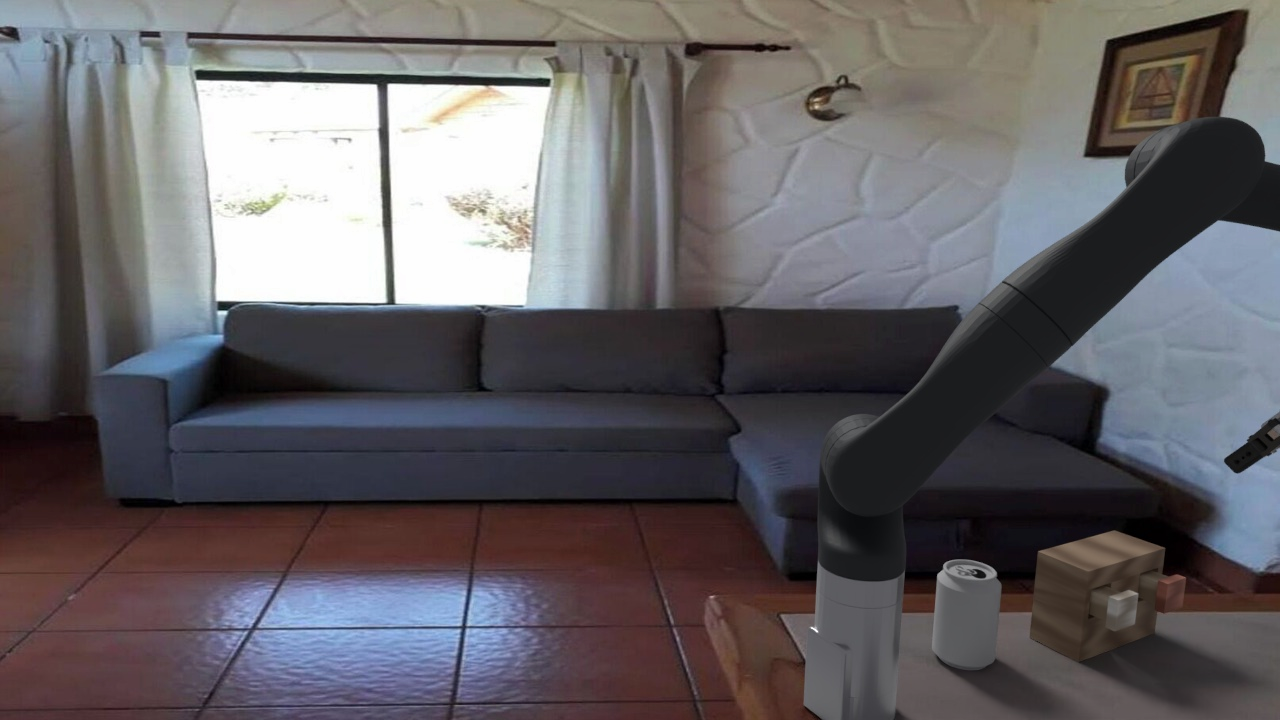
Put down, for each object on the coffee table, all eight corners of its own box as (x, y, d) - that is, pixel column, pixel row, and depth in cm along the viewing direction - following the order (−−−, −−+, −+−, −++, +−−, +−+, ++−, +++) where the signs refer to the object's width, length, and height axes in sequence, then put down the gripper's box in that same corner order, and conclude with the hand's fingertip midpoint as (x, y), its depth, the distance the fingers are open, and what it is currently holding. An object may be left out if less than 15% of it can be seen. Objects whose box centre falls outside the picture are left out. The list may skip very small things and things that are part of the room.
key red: (1164, 613, 109) (1167, 584, 108) (1095, 585, 117) (1098, 557, 116) (1182, 607, 111) (1186, 577, 110) (1113, 579, 119) (1117, 552, 118)
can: (1000, 677, 104) (1008, 583, 102) (935, 670, 106) (942, 577, 103) (988, 646, 111) (996, 558, 109) (927, 640, 113) (934, 553, 111)
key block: (1078, 662, 108) (1088, 571, 106) (1029, 637, 114) (1037, 551, 112) (1154, 633, 115) (1165, 548, 113) (1105, 611, 121) (1114, 530, 119)
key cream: (1114, 631, 104) (1118, 600, 104) (1046, 600, 112) (1050, 571, 111) (1134, 624, 106) (1138, 593, 105) (1066, 594, 114) (1069, 565, 113)
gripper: (1356, 338, 97) (1227, 431, 108) (1318, 352, 89) (1184, 451, 100) (1415, 389, 93) (1276, 480, 105) (1382, 409, 85) (1235, 505, 97)
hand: (1231, 466), depth 102 cm, fingers closed
